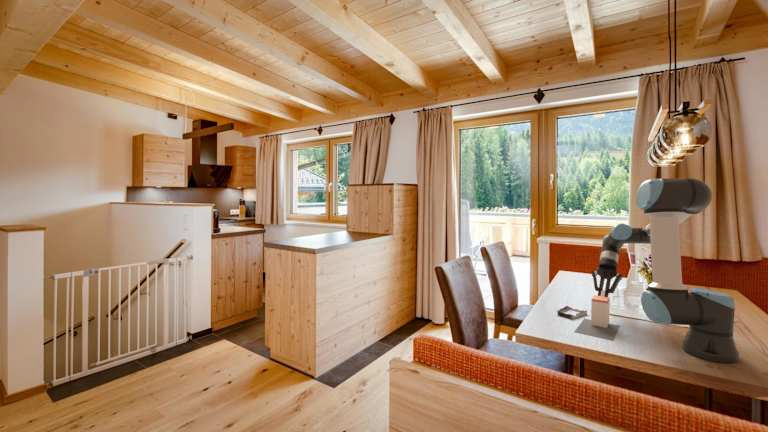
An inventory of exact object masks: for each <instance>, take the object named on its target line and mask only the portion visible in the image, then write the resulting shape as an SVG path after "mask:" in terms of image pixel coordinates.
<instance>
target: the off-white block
mask: <svg viewBox="0 0 768 432" xmlns="http://www.w3.org/2000/svg"><path fill="white" fill-rule="evenodd" d="M610 300H611V299H610V297H609V296H608V297H603V296H598V294H597V295H595V294H594V295H593V296H592V297H591V307H590V311H591V314H590V318H591V319H590V320H591V325H594V326H599V327H604V328H607V327H608V325H609V324H610V307H611V304H610V303H611V302H610Z"/></svg>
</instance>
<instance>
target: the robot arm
mask: <svg viewBox="0 0 768 432" xmlns="http://www.w3.org/2000/svg"><path fill="white" fill-rule="evenodd" d="M636 192H637V193H636V197H635V198H636V199H635V203H636V205H637V208H638V209H640V210H642V211H643V215H644V216H645V217H646V218H648V220H649V223H648V224H647V225H645V226H644V227H631V226H629V225H628V224H626V223H617V224H615V225H614V227H612V228H611V229H610V232H609V234H607V235H604V236H603V240H602V245H601V246H602V247H601V252H600V256H599V262H598V268H597V269H596V270H595V271H594V270H592V271H590V273H591V276H592V279H593V286H594V290H595V291H596V292H597V296H603V297H609V294H614V293H615V291H616V289H617V287H618V285H619V283H620V281H622V280H623V275H622V273H618V271H617V270H618V265H619V264H618V263H619V259H620V258H619V257H620V252H621V249H622V247H624V245H625V244H635V245H636V244H642V245H643V244H645V245H650V257H651V258H650V259H651V274H652V277H651V278H652V281H651V282H650V283H649V284H648V285H647V290H645V291H643V292H642V293H641V296H640V303H641V307H642V310H643V312H644V314H645V315H646V317H647V318H648V320H650V321H652V322H653V323H655V324H660V325H661V324H662V325H682V326H688V327H689V328H688V329H687V332H686V334H685V336H684V339H683V340H682V343H681V344H682V345H681V348H682V350H683V351H685V352H686V353H687V354H690V355H691V356H694V357H697V358H700V359H702V360H707V361H711V362H714V363H721V364H722V363H723V364H736V363H739V361H740V351H739V350H738V348H737V346H736V343H735V339H734V325H735V322H734V321H735V311H736V307H735V305H736V304H735V298H733V296H731V295H730V294H727V293H724V292H721V291H717V290H712V289H708V288H703V287H702V288H701V287H692V288H690V290H689V287H687V286H686V285H684V283H683V275H682V260H681V258H682V256H681V255H682V254H681V241H680V240H681V239H680V225H681V224H682V223H683V222H685V220H688V218H690V217H691V216H692V215H699V214H700V213H702V212H703V211H704V210H705V209H707V208H708V207H709V205H710V204H711V202H712V200H713V192H712V189H711V187H710V186H709V185H708V184H707V183H706V182H704V181H702V180H701V179H699V178H698V179H697V178H693V177H692V178H691V177H689V178H688V177H685V178H678V177H677V178H673V177H672V178H668V177H667V178H650V179H647V180H645V181H644V182H642V183H641V184H640V185H639V187H638V189H637V191H636ZM597 276H599V278H600V280H599V285H598V279H597ZM613 278H615V279H614V281H613V282H612V279H613ZM605 280H606V283H605ZM611 282H612V284H611ZM604 286H605V290H604Z"/></svg>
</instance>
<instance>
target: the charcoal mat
mask: <svg viewBox="0 0 768 432" xmlns="http://www.w3.org/2000/svg"><path fill="white" fill-rule="evenodd" d="M620 327H621V325H619V324H614V323H609V325H608V327H607V328H604V327H599V326H594V325H591V319H588V318H583V320H582V321H581V323H580V324H579V325H578V326H577V327H576V329H575V330H574V331H573V332H574V333H576V334H581V335H586V336H589V337H594V338H599V339H604V340H606V341H607V340H608V341H612V342H613V341H615V338H616V335H617V334H618V331H619V329H620Z"/></svg>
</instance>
